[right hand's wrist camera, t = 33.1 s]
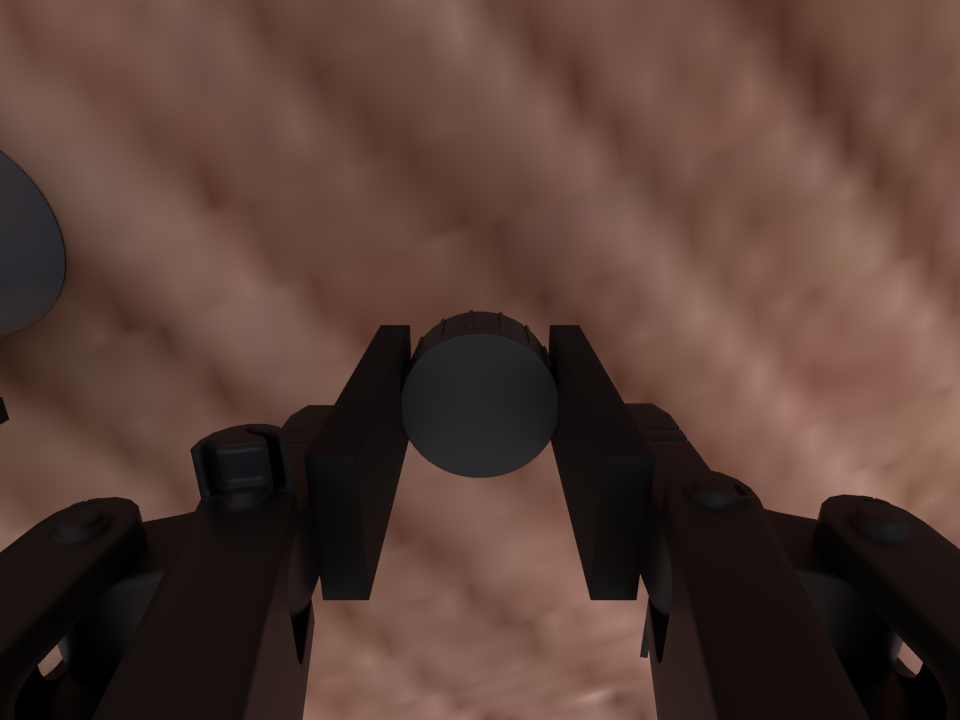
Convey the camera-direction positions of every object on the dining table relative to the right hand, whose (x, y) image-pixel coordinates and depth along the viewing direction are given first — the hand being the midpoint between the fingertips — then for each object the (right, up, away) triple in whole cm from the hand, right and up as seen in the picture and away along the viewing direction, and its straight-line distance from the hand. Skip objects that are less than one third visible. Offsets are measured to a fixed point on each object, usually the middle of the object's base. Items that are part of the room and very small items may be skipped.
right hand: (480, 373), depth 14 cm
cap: (0, -1, -2) cm, 2 cm away
